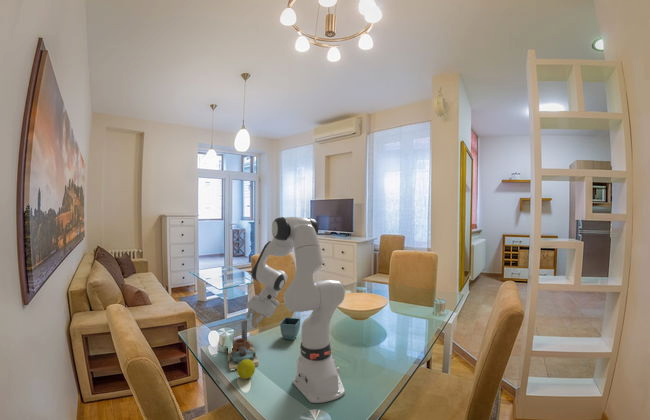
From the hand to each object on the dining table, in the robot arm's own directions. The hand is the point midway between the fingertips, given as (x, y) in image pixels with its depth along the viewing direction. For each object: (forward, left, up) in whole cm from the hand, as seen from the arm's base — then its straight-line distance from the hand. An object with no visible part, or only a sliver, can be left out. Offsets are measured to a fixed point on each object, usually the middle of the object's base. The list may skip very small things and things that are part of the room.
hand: (251, 319), depth 155 cm
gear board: (-18, +7, -10) cm, 22 cm away
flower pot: (-8, -19, -10) cm, 23 cm away
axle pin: (-2, +4, -10) cm, 11 cm away
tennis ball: (-36, +7, -10) cm, 38 cm away
